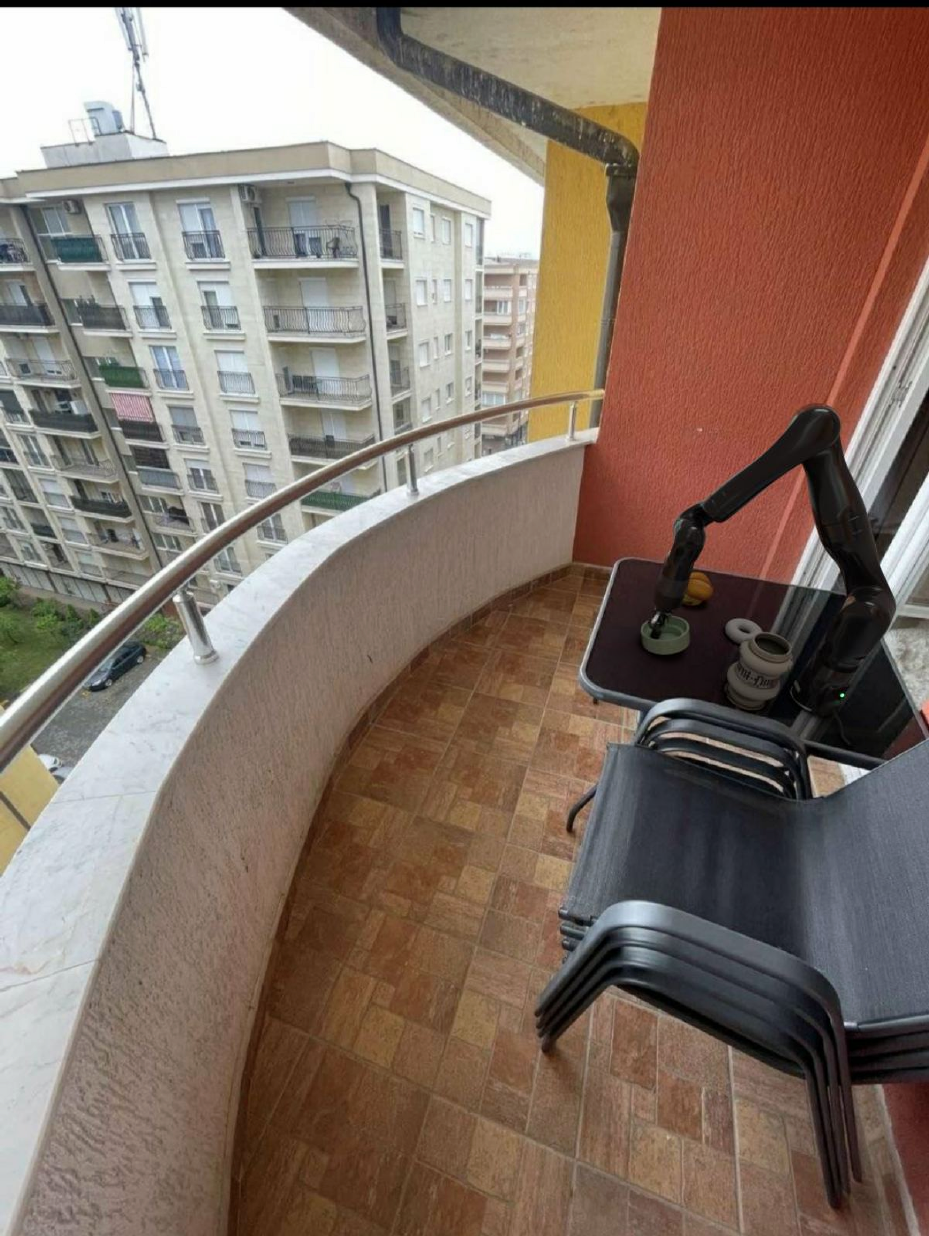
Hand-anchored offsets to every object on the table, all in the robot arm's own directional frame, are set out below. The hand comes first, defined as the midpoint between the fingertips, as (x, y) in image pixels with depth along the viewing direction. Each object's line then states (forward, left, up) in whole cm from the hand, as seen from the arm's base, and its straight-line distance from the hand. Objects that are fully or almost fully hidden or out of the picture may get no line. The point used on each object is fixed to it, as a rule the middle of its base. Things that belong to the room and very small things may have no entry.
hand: (655, 637), depth 152 cm
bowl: (-3, -2, 0) cm, 3 cm away
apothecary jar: (-24, -11, -2) cm, 26 cm away
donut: (-5, -26, -2) cm, 27 cm away
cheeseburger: (+14, -22, -2) cm, 26 cm away
